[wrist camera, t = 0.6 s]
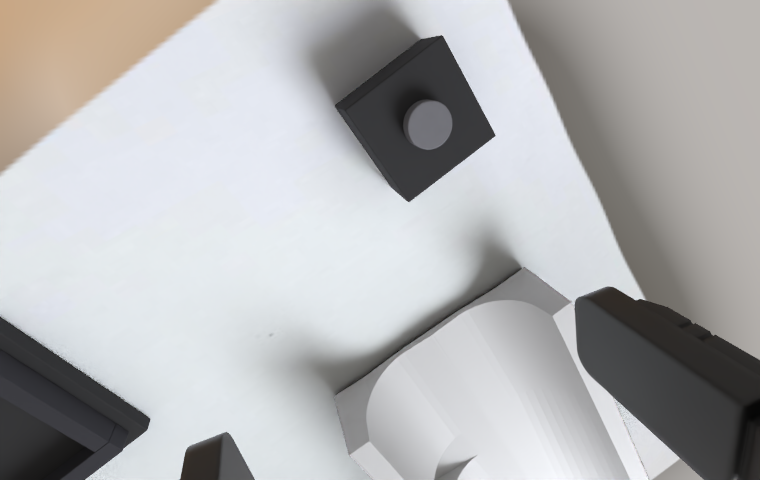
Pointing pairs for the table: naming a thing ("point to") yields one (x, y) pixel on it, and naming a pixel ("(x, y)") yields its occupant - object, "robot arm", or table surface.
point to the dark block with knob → (417, 117)
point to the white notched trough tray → (490, 399)
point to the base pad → (56, 415)
